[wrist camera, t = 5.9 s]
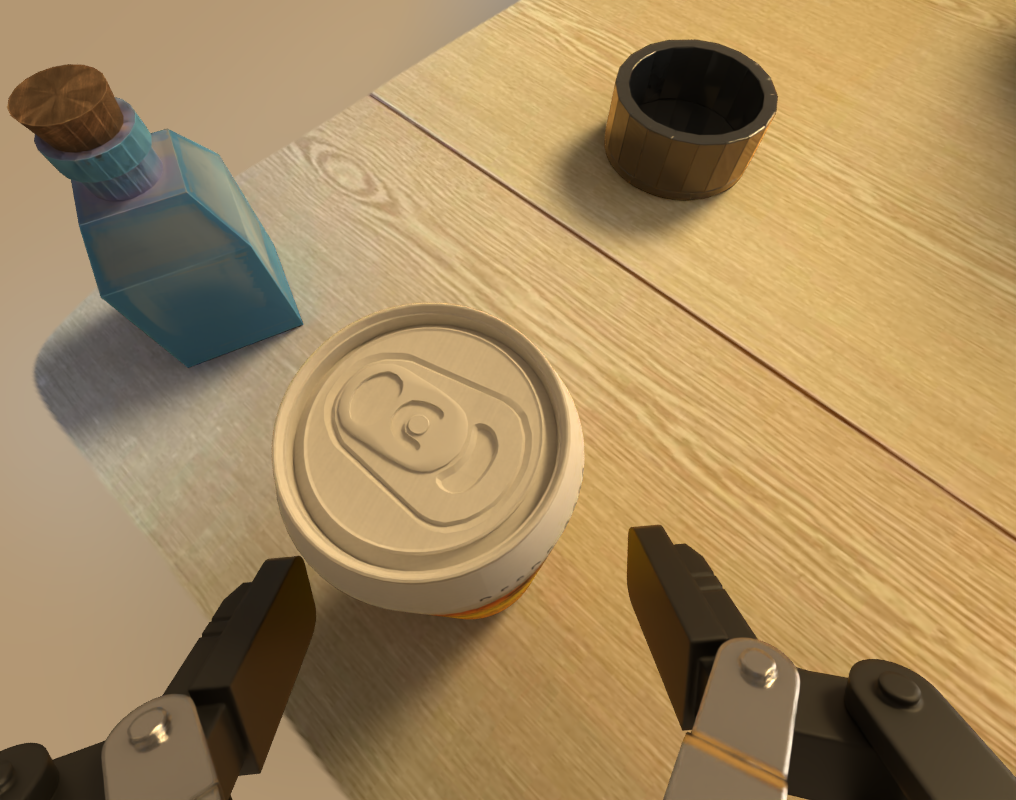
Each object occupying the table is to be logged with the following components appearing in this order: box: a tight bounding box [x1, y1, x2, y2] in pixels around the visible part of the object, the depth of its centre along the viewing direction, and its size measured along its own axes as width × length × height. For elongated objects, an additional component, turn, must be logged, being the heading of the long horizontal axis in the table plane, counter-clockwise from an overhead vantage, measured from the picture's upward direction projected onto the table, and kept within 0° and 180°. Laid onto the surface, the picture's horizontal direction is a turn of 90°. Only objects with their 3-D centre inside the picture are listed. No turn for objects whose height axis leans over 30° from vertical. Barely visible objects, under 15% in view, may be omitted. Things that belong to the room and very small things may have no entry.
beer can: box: [272, 303, 584, 619], centre depth 16 cm, size 6×6×15 cm
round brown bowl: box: [604, 39, 778, 200], centre depth 31 cm, size 9×9×4 cm
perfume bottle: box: [7, 64, 303, 368], centre depth 22 cm, size 6×6×12 cm
